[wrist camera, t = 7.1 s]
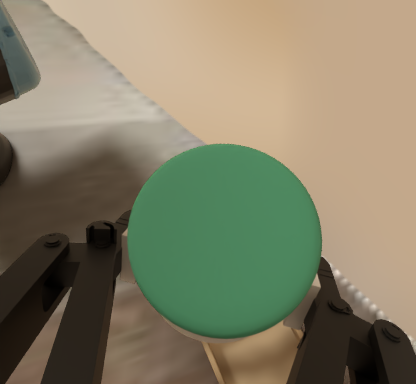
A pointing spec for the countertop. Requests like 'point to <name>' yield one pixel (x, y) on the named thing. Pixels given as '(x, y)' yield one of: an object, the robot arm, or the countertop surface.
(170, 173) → the milk bottle
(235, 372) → the wooden tray
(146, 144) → the countertop surface
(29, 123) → the countertop surface
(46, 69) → the countertop surface
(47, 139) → the countertop surface
